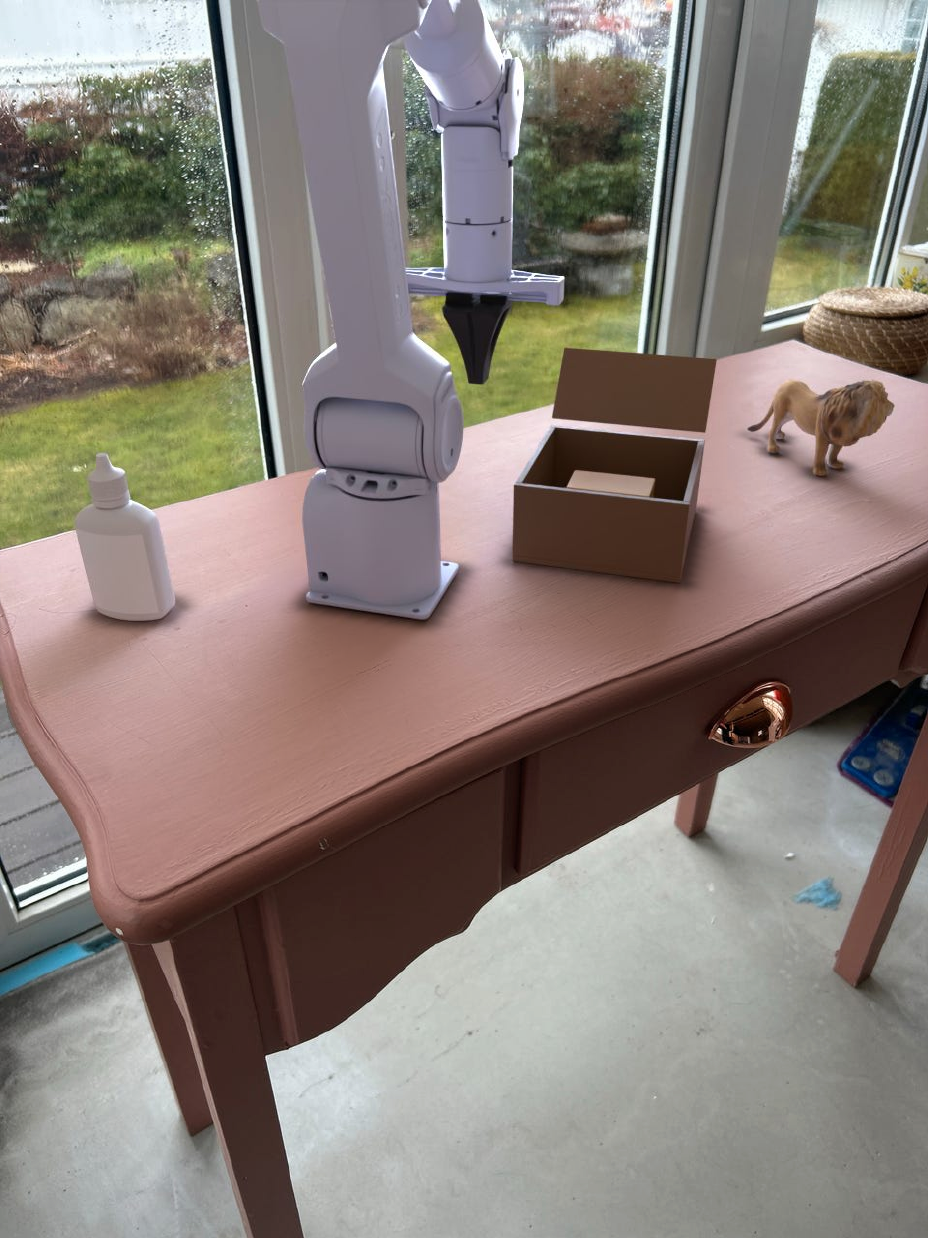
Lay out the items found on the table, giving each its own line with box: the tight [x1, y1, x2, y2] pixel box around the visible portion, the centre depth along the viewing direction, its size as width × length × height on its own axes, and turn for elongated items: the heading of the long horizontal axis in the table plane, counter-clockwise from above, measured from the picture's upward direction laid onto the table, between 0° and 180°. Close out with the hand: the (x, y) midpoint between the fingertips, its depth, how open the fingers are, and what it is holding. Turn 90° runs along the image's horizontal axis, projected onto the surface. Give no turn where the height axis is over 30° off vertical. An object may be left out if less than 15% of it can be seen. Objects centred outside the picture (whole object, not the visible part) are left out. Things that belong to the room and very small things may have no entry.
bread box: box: [511, 424, 706, 584], centre depth 77 cm, size 13×13×6 cm
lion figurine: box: [746, 379, 896, 477], centre depth 89 cm, size 15×5×9 cm, turn 33°
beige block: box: [566, 470, 655, 498], centre depth 76 cm, size 6×4×5 cm, turn 73°
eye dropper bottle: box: [74, 452, 176, 622], centre depth 66 cm, size 4×6×12 cm
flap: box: [551, 347, 718, 434], centre depth 80 cm, size 13×6×1 cm
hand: (478, 380), depth 86 cm, fingers closed
